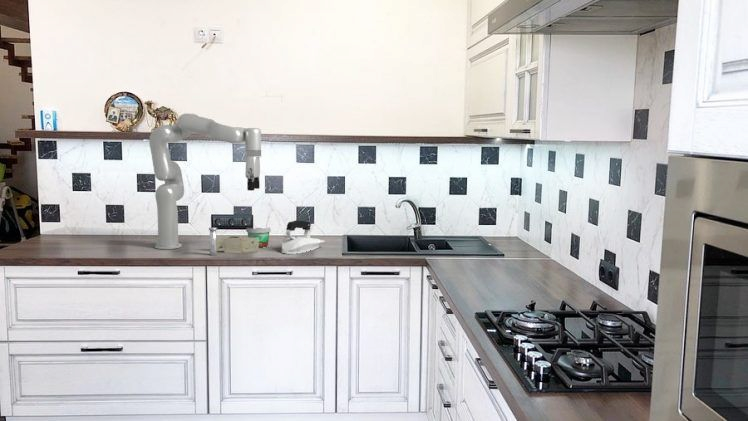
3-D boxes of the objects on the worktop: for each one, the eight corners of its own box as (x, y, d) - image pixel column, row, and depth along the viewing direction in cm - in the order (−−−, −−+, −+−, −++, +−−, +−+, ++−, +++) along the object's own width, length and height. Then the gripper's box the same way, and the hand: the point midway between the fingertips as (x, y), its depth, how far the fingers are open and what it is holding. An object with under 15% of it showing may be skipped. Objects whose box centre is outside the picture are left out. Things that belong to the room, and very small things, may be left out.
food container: (247, 249, 320) (246, 229, 319) (246, 246, 326) (246, 227, 325) (272, 248, 324) (272, 228, 322) (270, 246, 329) (270, 226, 328)
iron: (324, 248, 327) (325, 218, 325) (293, 255, 307) (293, 224, 305) (308, 245, 333) (308, 216, 331) (276, 252, 313) (276, 222, 311)
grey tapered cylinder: (208, 255, 303) (207, 228, 301) (210, 254, 306) (210, 227, 305) (216, 255, 302) (215, 228, 301) (218, 254, 306) (218, 227, 305)
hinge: (207, 252, 311) (207, 237, 310) (213, 249, 318) (213, 235, 318) (256, 253, 309) (256, 239, 308) (260, 250, 316) (260, 236, 316)
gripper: (250, 153, 319) (250, 187, 322) (240, 154, 302) (240, 191, 305) (265, 153, 319) (265, 188, 321) (256, 154, 302) (256, 191, 304)
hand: (253, 189), depth 313 cm, fingers open, 9 cm apart
